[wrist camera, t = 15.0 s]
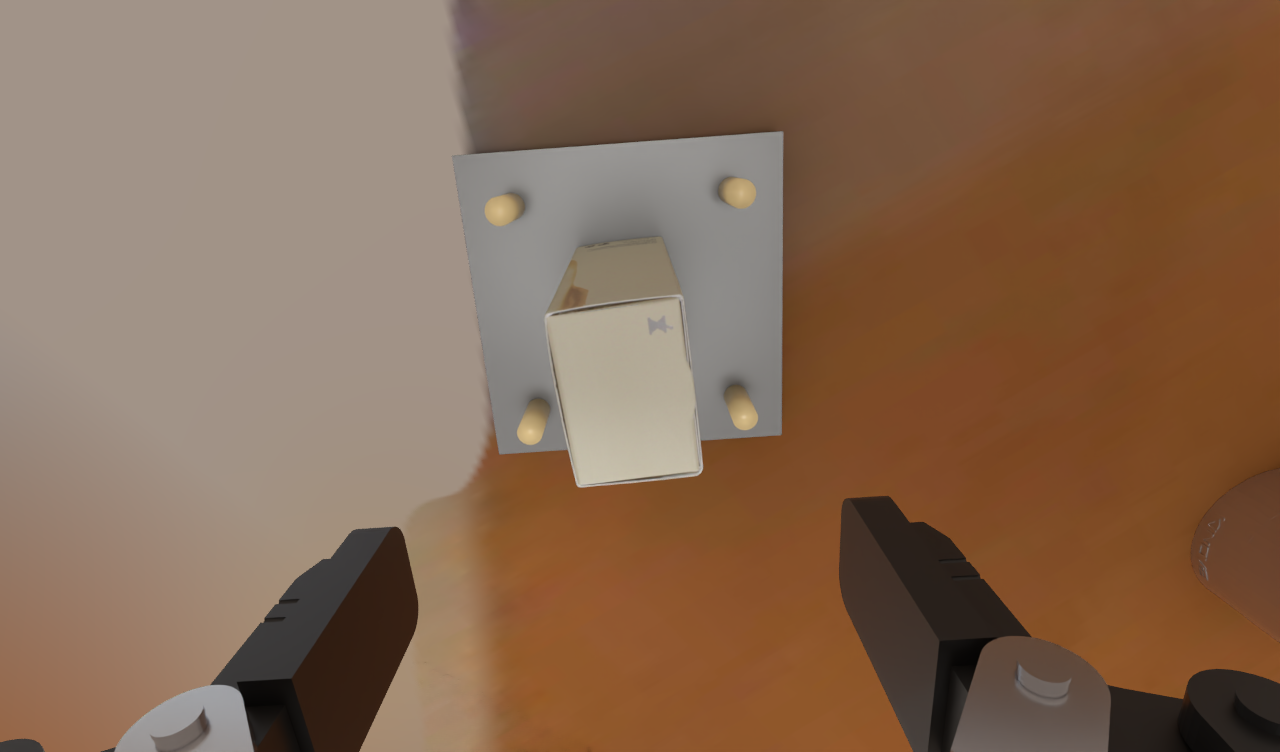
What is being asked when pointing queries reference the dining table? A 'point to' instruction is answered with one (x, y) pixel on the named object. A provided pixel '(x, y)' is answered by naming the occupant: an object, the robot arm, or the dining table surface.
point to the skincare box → (624, 365)
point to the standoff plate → (621, 210)
